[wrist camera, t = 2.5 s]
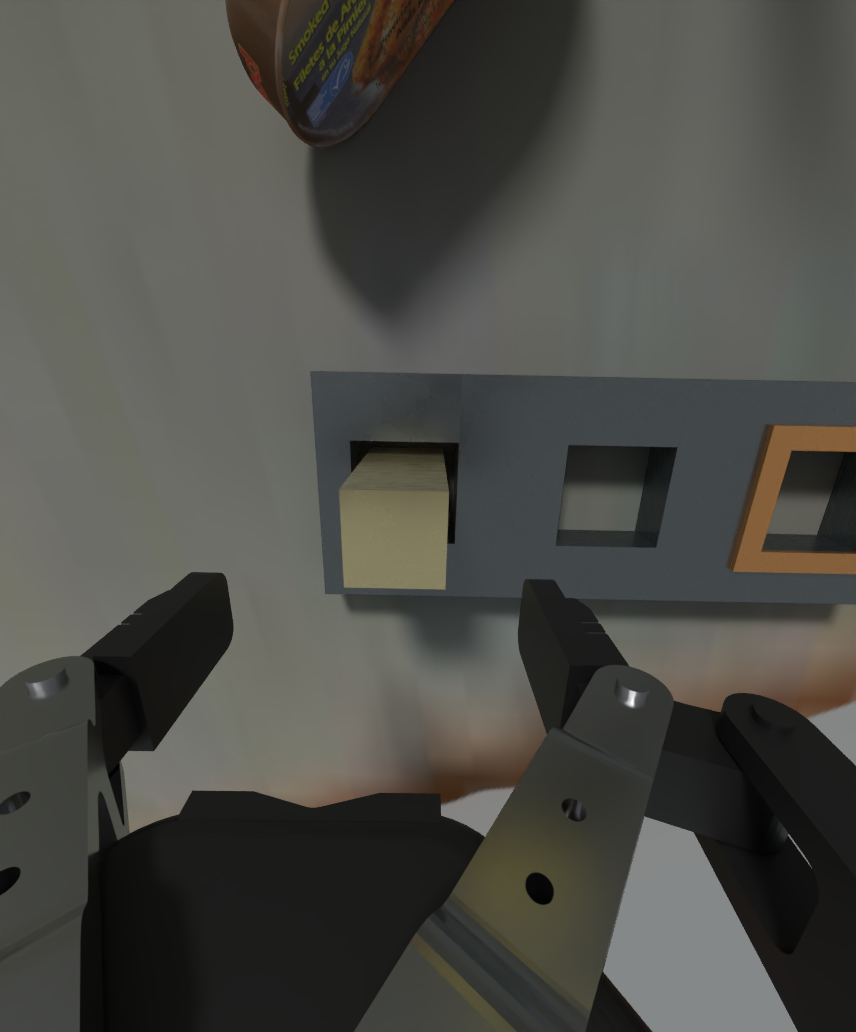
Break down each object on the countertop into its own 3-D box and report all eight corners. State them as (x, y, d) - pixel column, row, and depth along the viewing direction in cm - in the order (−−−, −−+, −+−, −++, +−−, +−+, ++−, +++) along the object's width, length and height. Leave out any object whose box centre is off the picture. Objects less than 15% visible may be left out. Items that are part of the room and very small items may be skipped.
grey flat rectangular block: (902, 383, 22) (965, 385, 20) (828, 583, 26) (873, 607, 24) (322, 371, 22) (308, 371, 20) (334, 573, 26) (324, 596, 24)
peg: (442, 448, 24) (448, 491, 15) (440, 515, 25) (445, 589, 17) (371, 447, 24) (339, 489, 15) (373, 514, 25) (343, 587, 17)
